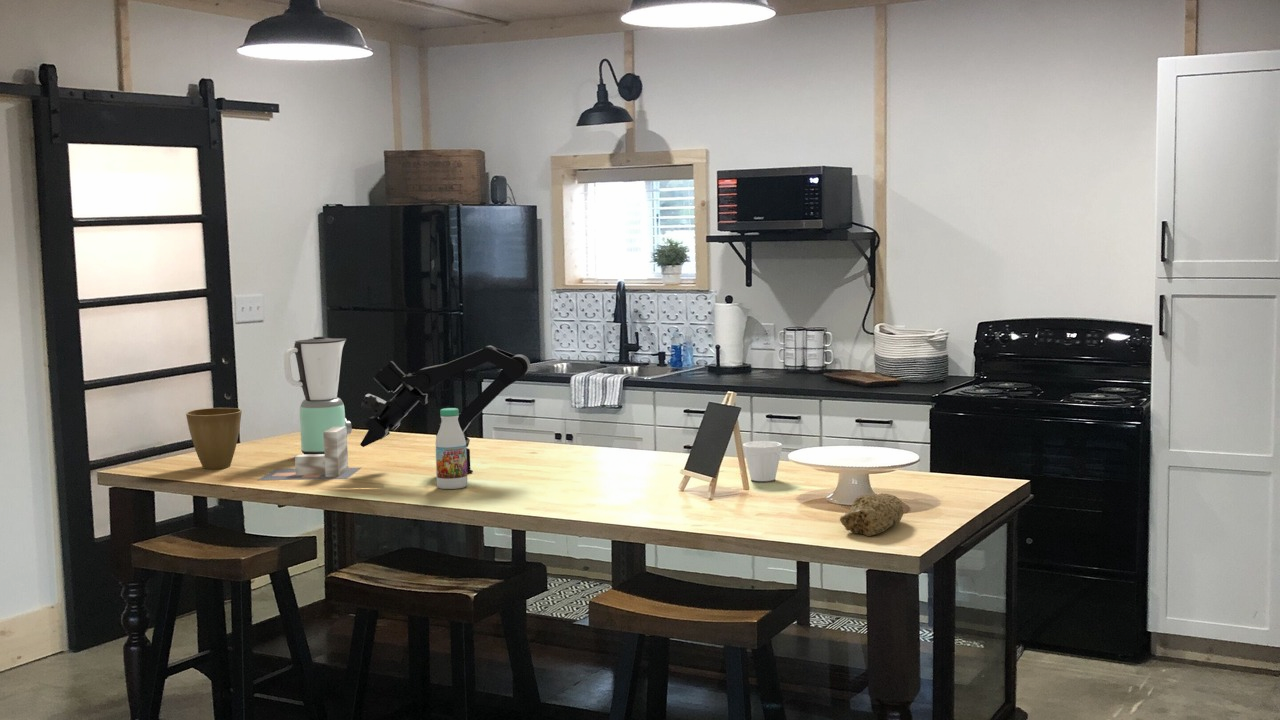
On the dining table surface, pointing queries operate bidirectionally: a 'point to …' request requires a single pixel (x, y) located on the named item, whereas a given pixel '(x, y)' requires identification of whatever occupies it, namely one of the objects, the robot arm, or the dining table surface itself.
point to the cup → (762, 459)
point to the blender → (318, 389)
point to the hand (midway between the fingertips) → (361, 445)
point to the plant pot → (214, 435)
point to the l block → (326, 456)
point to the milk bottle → (451, 452)
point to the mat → (291, 475)
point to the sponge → (873, 514)
